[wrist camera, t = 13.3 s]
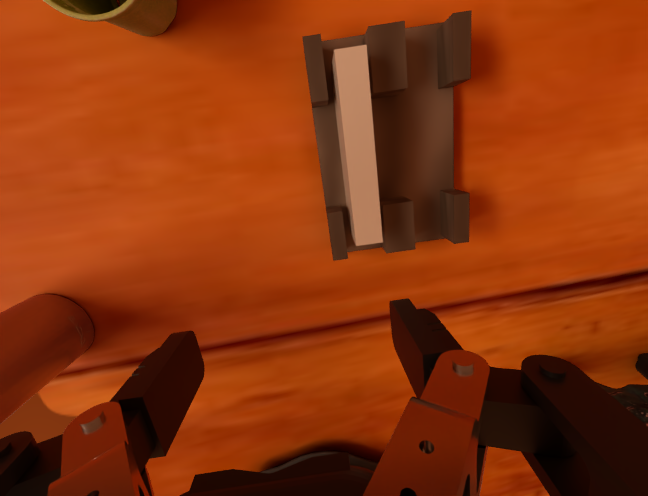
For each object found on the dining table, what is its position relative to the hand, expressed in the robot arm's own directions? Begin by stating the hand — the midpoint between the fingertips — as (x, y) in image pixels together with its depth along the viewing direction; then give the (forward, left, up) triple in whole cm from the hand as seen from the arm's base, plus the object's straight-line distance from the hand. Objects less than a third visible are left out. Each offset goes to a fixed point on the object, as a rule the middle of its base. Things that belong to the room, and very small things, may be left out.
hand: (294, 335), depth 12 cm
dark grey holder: (+9, +6, -24) cm, 26 cm away
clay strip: (+6, +6, -22) cm, 24 cm away
